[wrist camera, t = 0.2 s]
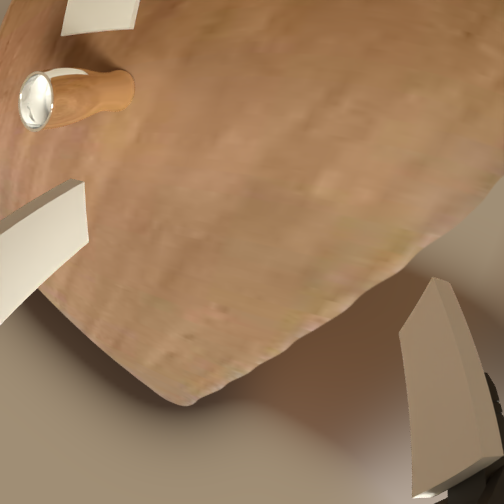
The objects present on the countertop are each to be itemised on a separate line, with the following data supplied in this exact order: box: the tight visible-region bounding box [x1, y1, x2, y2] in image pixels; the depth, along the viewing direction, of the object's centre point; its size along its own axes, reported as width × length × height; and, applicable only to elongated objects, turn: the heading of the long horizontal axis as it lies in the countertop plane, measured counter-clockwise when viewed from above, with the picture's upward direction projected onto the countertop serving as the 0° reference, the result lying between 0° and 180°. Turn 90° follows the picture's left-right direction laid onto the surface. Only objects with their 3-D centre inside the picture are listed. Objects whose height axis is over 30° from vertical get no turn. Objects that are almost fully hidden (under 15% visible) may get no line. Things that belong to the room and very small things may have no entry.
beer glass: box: [18, 67, 135, 132], centre depth 30 cm, size 7×7×15 cm
